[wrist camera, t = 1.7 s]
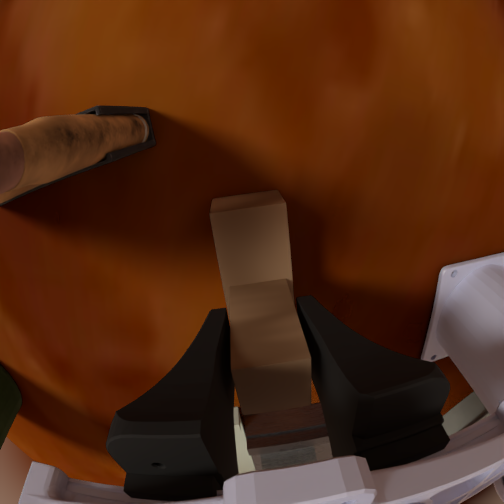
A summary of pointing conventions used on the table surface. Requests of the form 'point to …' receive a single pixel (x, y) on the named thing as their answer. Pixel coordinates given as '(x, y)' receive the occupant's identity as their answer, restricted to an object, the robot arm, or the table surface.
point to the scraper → (261, 302)
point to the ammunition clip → (69, 146)
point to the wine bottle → (8, 403)
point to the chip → (288, 458)
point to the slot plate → (287, 432)
